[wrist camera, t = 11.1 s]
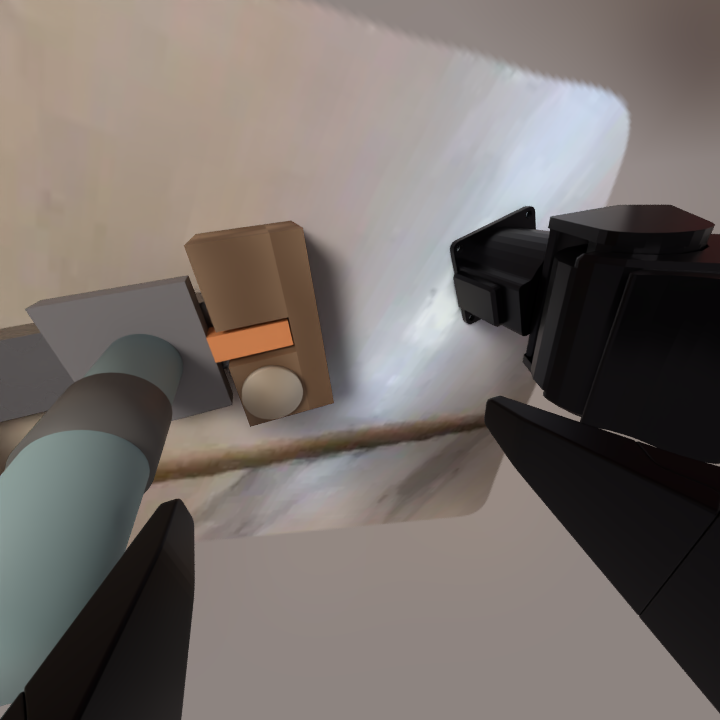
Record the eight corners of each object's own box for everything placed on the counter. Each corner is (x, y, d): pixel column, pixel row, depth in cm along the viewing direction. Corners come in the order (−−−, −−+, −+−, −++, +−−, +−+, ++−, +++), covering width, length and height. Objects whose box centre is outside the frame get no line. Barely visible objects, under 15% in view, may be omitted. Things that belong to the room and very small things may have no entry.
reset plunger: (284, 312, 17) (287, 320, 16) (289, 334, 18) (293, 344, 17) (208, 327, 16) (206, 338, 15) (217, 351, 17) (215, 362, 16)
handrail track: (284, 277, 19) (289, 285, 17) (298, 337, 21) (303, 349, 19) (-215, 368, 14) (-278, 392, 12) (-134, 435, 16) (-178, 464, 14)
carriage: (188, 275, 15) (63, 477, 4) (232, 393, 18) (222, 661, 8) (40, 300, 14) (-639, 675, 3) (119, 422, 17) (-75, 791, 7)
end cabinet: (290, 220, 17) (304, 229, 14) (320, 371, 22) (335, 407, 19) (195, 234, 16) (182, 247, 13) (248, 389, 21) (250, 432, 18)
